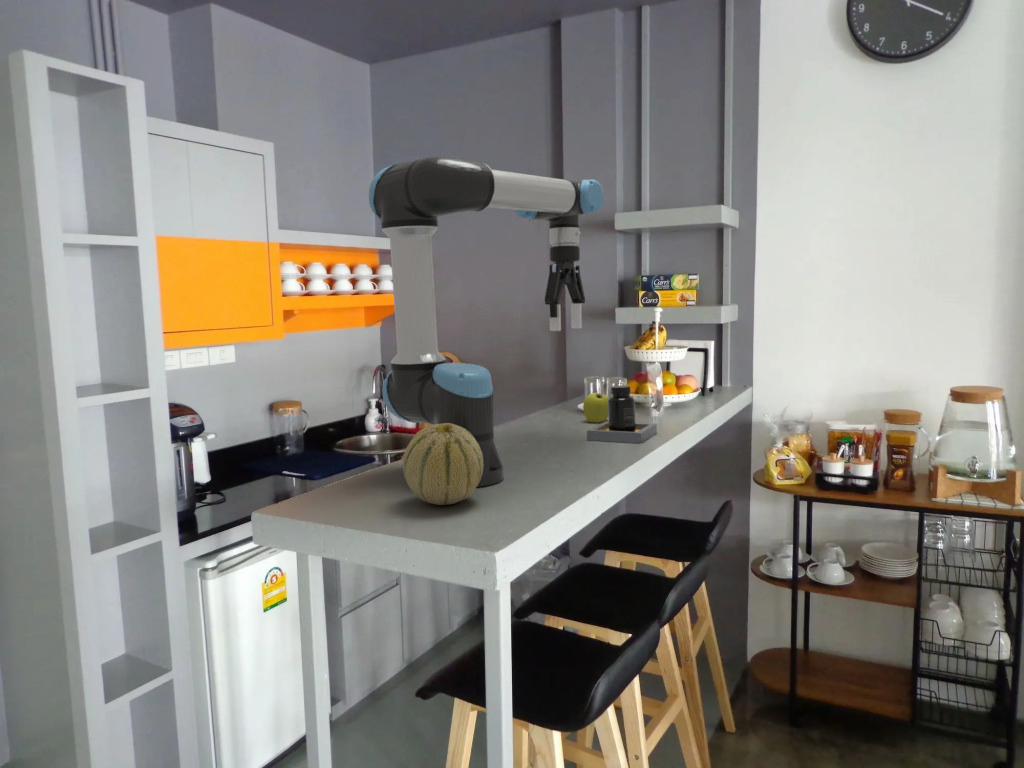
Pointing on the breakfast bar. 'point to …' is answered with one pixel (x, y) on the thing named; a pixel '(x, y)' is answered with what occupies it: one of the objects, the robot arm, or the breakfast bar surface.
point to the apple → (596, 407)
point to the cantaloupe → (443, 464)
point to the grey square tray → (622, 433)
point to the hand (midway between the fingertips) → (566, 329)
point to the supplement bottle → (621, 410)
